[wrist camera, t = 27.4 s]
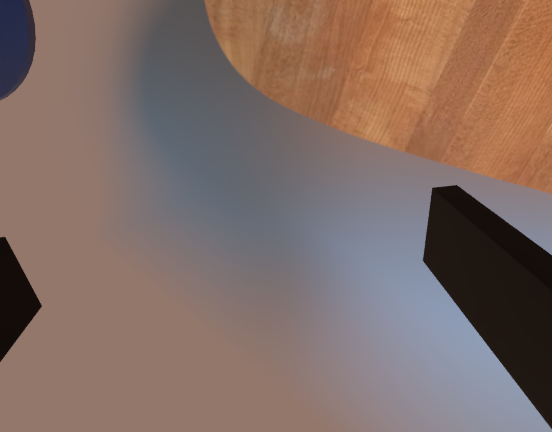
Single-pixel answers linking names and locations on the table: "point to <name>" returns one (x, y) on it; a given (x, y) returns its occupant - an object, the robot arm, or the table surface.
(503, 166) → the table surface
